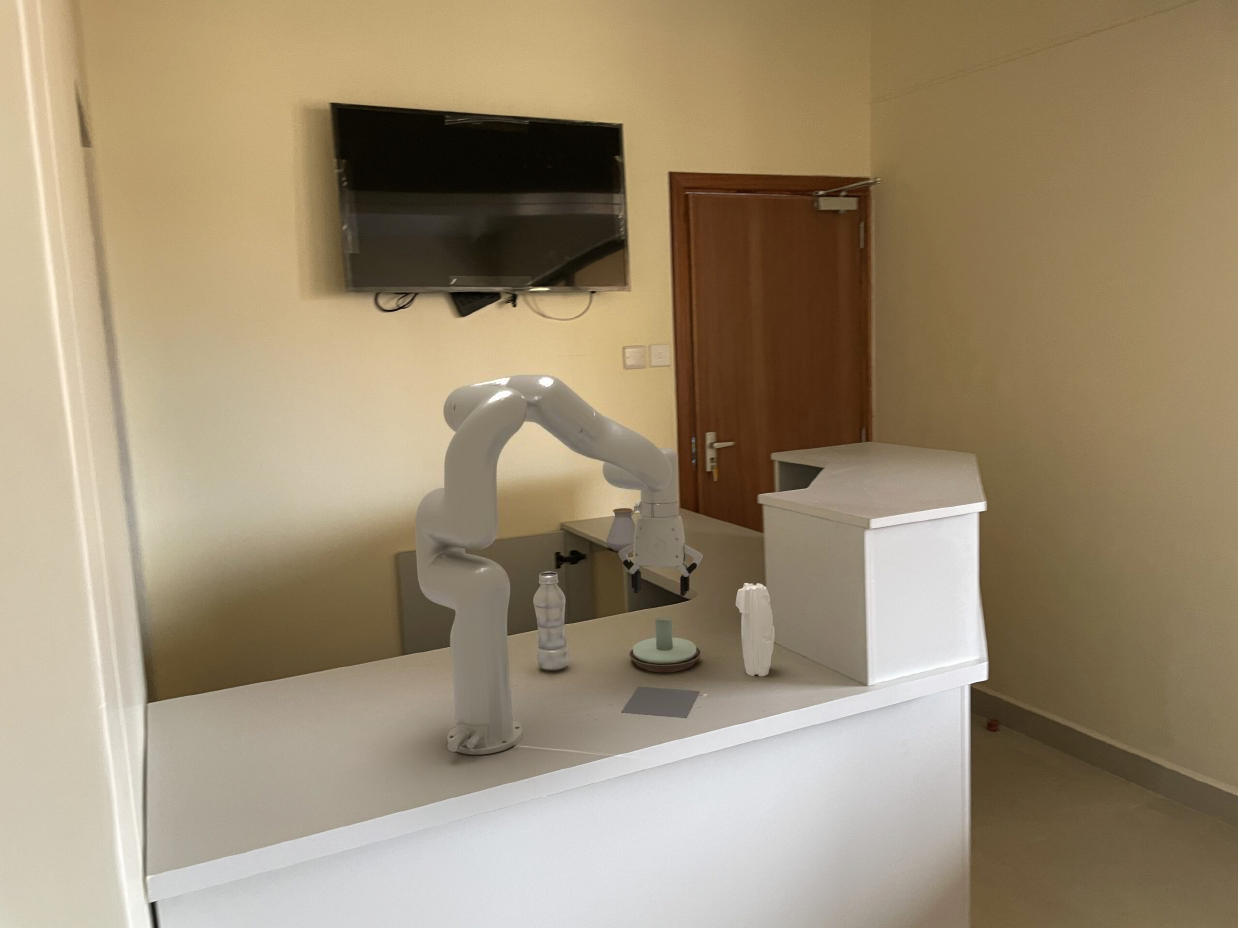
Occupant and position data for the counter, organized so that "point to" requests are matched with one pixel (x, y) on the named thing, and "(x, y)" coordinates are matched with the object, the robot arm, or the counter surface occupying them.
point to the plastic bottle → (550, 623)
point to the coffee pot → (621, 529)
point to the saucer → (666, 667)
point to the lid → (664, 646)
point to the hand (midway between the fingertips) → (660, 592)
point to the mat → (661, 702)
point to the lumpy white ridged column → (756, 628)
